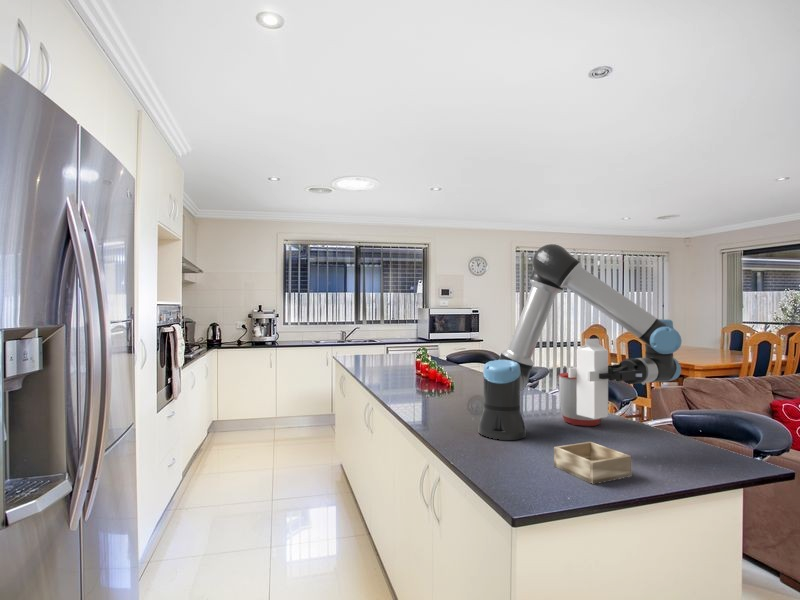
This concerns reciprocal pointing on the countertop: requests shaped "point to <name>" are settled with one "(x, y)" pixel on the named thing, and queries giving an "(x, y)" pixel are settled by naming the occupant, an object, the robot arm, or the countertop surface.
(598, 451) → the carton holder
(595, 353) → the milk
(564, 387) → the citrus juicer
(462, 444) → the countertop surface
